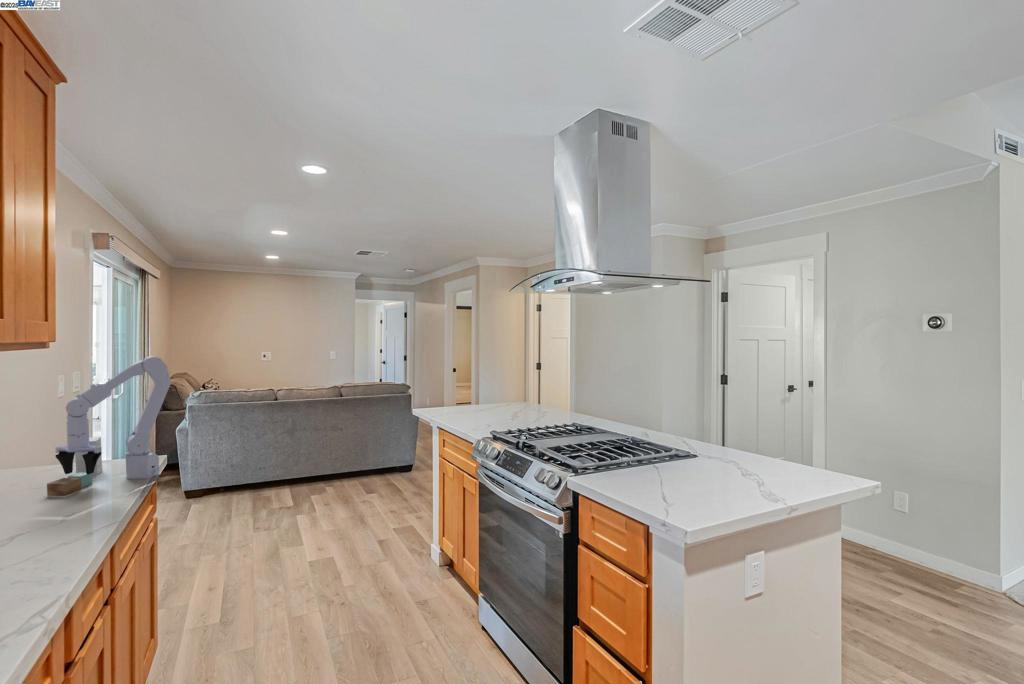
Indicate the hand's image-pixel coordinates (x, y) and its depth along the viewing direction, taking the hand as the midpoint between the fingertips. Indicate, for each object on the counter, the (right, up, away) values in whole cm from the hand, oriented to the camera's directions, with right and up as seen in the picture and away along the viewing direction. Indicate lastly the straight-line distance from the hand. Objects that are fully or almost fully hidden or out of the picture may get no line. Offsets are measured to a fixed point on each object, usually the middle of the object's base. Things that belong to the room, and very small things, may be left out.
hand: (79, 473), depth 177 cm
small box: (-9, -4, +16) cm, 19 cm away
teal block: (0, -5, 0) cm, 5 cm away
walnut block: (+2, -4, -8) cm, 9 cm away
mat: (+2, -5, -8) cm, 9 cm away
